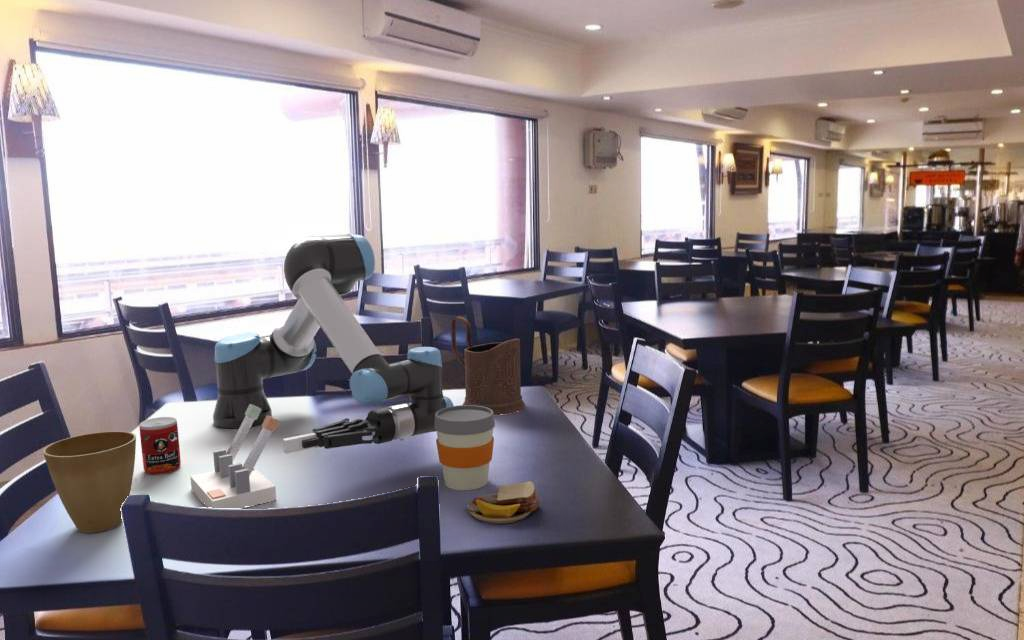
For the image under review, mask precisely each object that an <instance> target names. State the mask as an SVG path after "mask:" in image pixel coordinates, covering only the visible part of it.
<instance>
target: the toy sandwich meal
mask: <svg viewBox="0 0 1024 640" xmlns="http://www.w3.org/2000/svg"><path fill="white" fill-rule="evenodd" d="M539 505H540V498H539V494H538V493H537V492H536V487H535V483H534V482H532V481H530V480H528V481H525V482H519V483H511V484H505V485H499V486H498V490H497V493H492V494H484V495H482V496H479V497H474V498H472V501H470V502H469V503H467V510H468V512H469V514H470V515H471V516H473V518H475V519H476V518H477V520H478V519H479V521H481V520H482V521H481V522H484V521H485V522H484V523H489V522H490V524H509V523H515V522H518V521H522V520H523V519H525V518H526V517H528V516H529V514H531V513H532V512H534V511H536V510H537V508H538V507H539Z"/></svg>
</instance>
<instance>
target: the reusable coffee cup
mask: <svg viewBox="0 0 1024 640" xmlns="http://www.w3.org/2000/svg"><path fill="white" fill-rule="evenodd" d="M495 426H496V422H495V416H494V414H493V411H492V410H491V409H490V408H487V407H483V406H476V405H463V404H461V405H453V406H452V407H447V408H443V409H441V410H438V411H437V412H436V413H435V424H434V428H435V430H436V436H437V438H436V440H435V441H436V448H437V454H438V461H439V463H440V464H441V465H442V466H441V467H442V472H443V479H444V484H445V486H446V487H447V488H450V489H452V490H456V491H472V490H477V489H480V488H483V487H484V486H486V485H487V484H488V482H489V481H488V480H489V471H490V462H491V461H493V451H494V443H495V438H494V436H493V432H494V428H495Z"/></svg>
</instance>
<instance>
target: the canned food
mask: <svg viewBox="0 0 1024 640" xmlns="http://www.w3.org/2000/svg"><path fill="white" fill-rule="evenodd" d="M139 436H140V446H141V447H140V448H141V454H142V455H141V456H142V465H143V470H144V472H145V473H146V474H147V475H151V476H152V475H155V476H157V475H164V474H170V473H173V472H175V471H177V470H178V469H179V468H180V467H181V463H182V462H181V461H182V460H181V450H180V441H179V440H180V439H179V438H180V437H179V429H178V420H177V418H175V417H172V416H160V417H154V418H153V417H152V418H148V419H145V420H143V421H142V422H140V423H139Z"/></svg>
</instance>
